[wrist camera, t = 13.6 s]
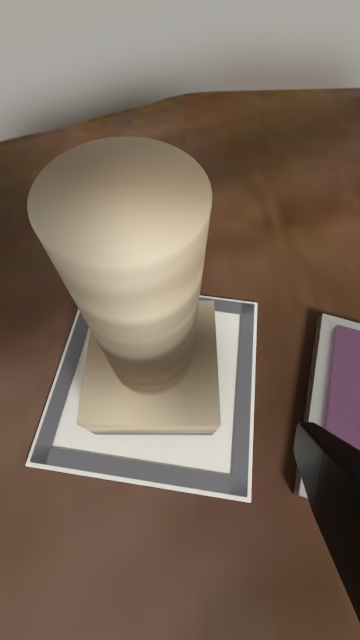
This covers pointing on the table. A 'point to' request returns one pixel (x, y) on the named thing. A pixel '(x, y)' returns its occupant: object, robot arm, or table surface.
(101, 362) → the stamp
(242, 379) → the marked card
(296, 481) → the ink pad
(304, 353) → the table surface
